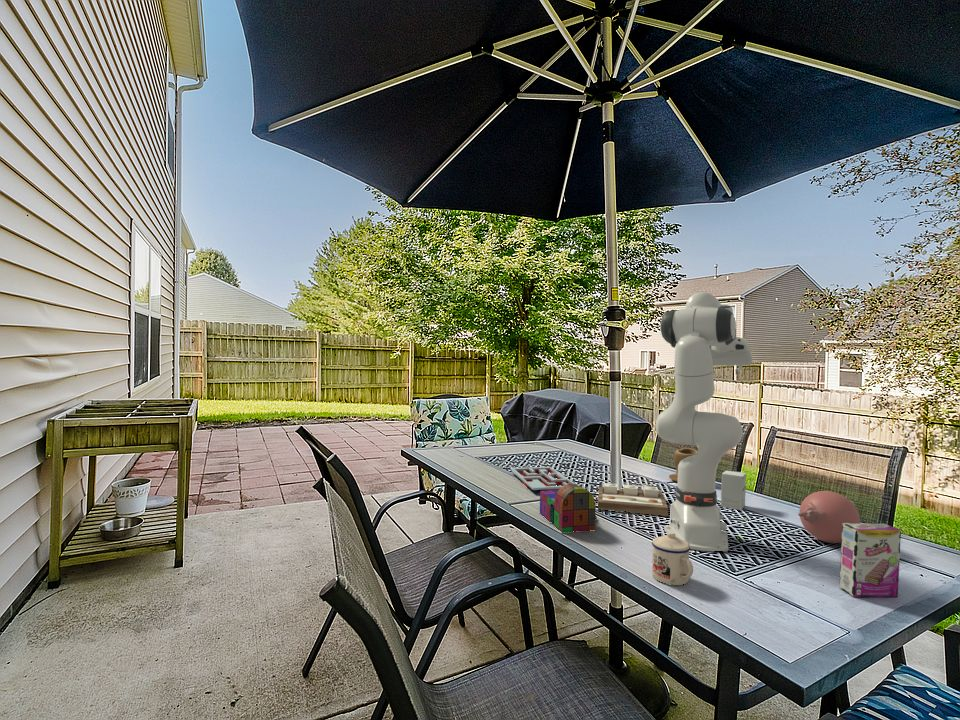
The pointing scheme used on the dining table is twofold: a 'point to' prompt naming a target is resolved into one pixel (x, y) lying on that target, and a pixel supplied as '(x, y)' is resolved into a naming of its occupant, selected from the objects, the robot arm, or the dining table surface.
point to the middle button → (630, 490)
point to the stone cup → (679, 456)
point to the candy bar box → (870, 560)
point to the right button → (650, 491)
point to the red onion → (827, 515)
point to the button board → (632, 502)
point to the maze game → (541, 478)
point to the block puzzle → (569, 508)
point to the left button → (610, 488)
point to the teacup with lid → (671, 560)
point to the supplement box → (733, 490)
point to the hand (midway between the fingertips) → (724, 374)
